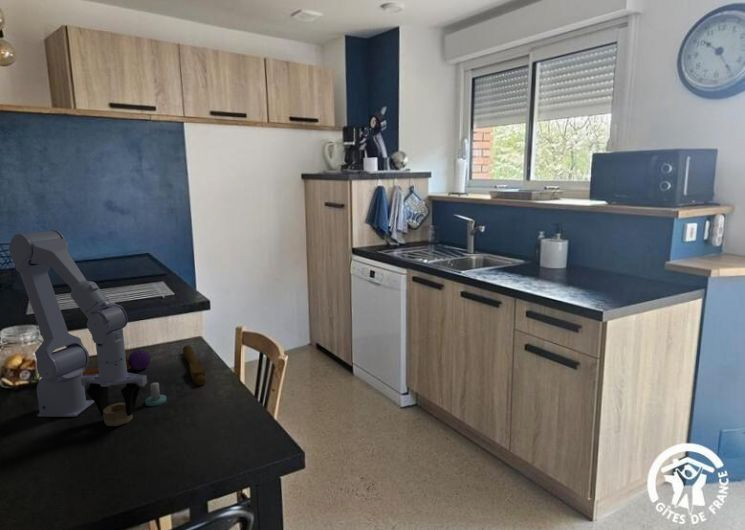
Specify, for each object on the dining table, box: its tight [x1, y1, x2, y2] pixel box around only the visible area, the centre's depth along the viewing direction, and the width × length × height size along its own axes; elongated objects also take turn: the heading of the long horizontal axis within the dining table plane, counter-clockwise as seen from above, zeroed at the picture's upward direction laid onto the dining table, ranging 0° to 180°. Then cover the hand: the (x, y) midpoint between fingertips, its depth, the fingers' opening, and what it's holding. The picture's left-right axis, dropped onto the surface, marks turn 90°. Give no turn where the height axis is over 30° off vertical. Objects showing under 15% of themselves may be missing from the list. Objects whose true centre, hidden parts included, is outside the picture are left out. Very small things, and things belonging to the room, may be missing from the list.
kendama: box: [83, 349, 151, 377], centre depth 142 cm, size 6×6×20 cm
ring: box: [103, 402, 134, 427], centre depth 115 cm, size 6×6×3 cm
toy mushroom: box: [144, 382, 168, 407], centre depth 124 cm, size 5×5×5 cm
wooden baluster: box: [182, 345, 207, 387], centre depth 147 cm, size 3×3×30 cm
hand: (117, 413), depth 115 cm, fingers closed on ring, 6 cm apart
